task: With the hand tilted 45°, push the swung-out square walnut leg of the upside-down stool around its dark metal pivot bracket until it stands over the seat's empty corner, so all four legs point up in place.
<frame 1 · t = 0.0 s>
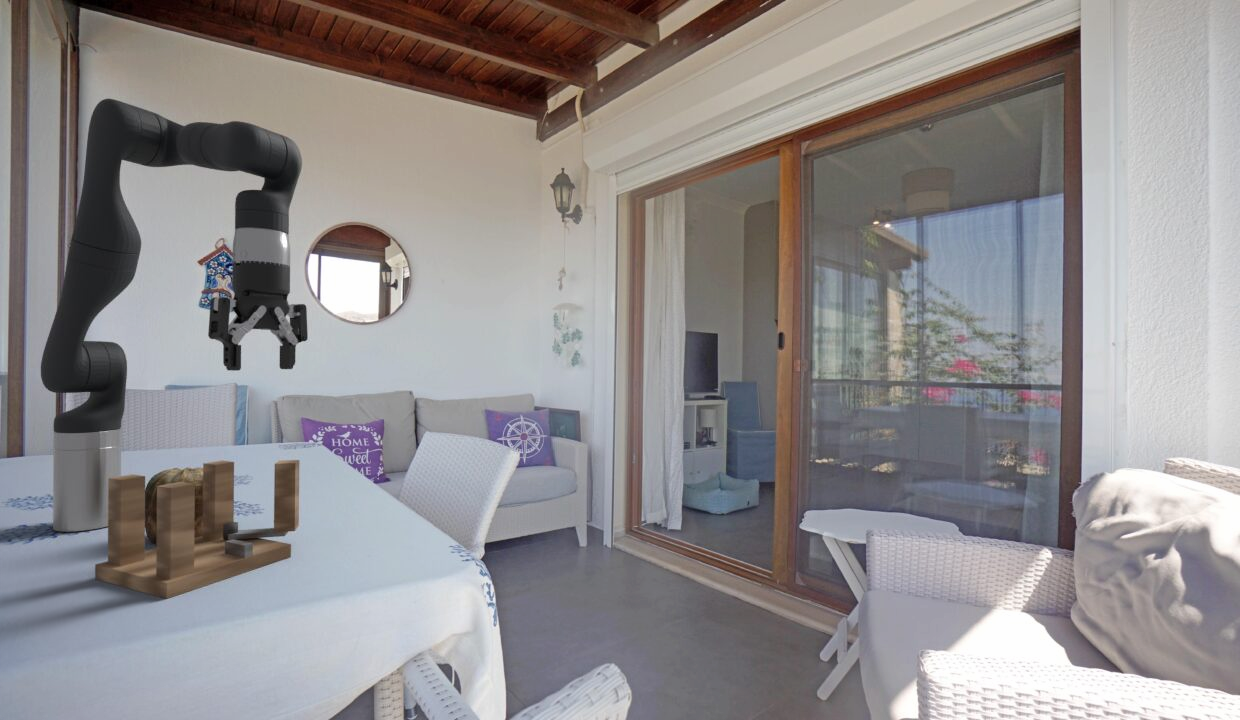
hand: (260, 369, 92), 29 cm above the table, tool pointing down, fingers open, 8 cm apart
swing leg: (260, 499, 98), point 8 cm above the table, hinge at 40.0°
stool: (198, 567, 90), on the table
shell: (182, 538, 104), on the table
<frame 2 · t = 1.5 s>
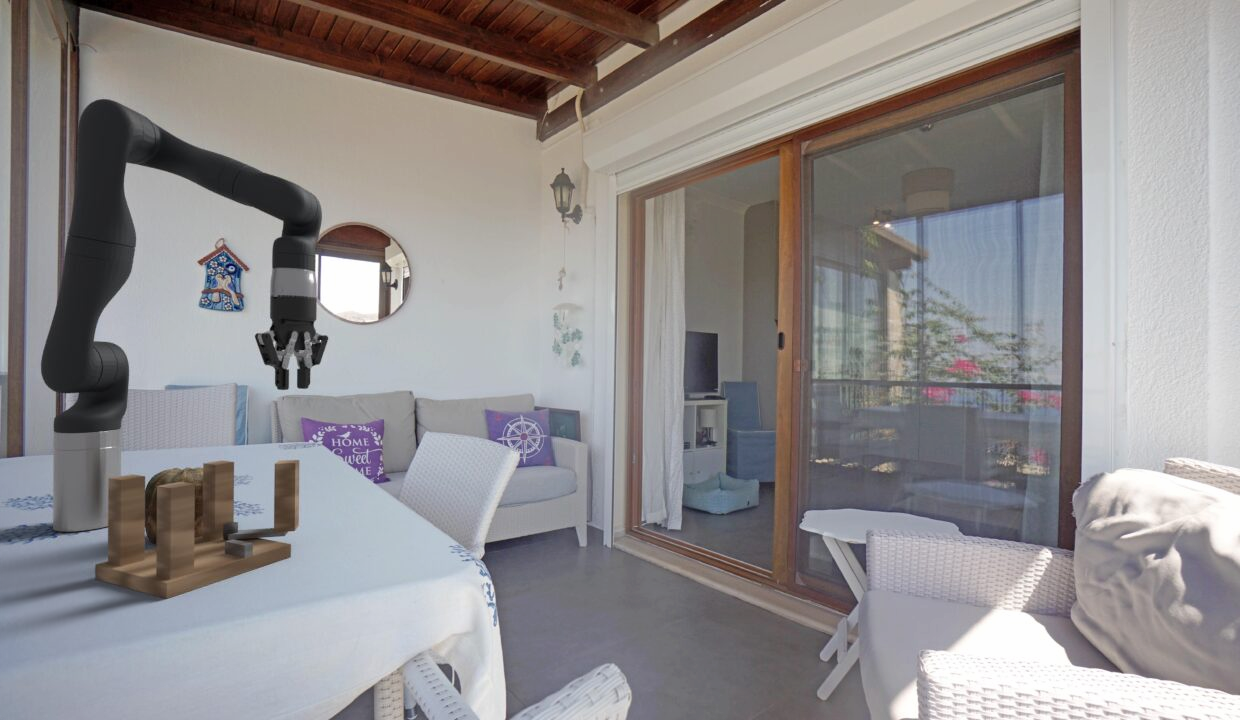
hand: (292, 388, 112), 25 cm above the table, tool pointing down, fingers open, 3 cm apart
nothing on the table moved.
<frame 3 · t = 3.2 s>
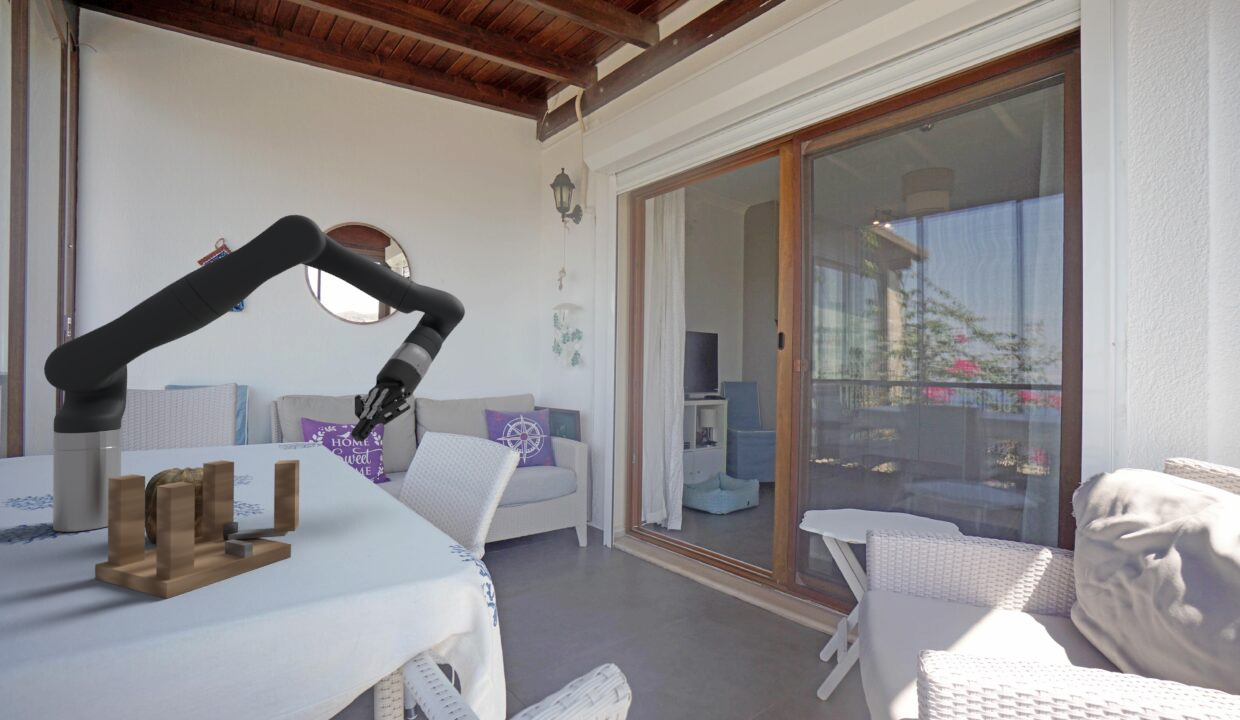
hand: (356, 438, 112), 16 cm above the table, tool tilted 45°, fingers closed
nothing on the table moved.
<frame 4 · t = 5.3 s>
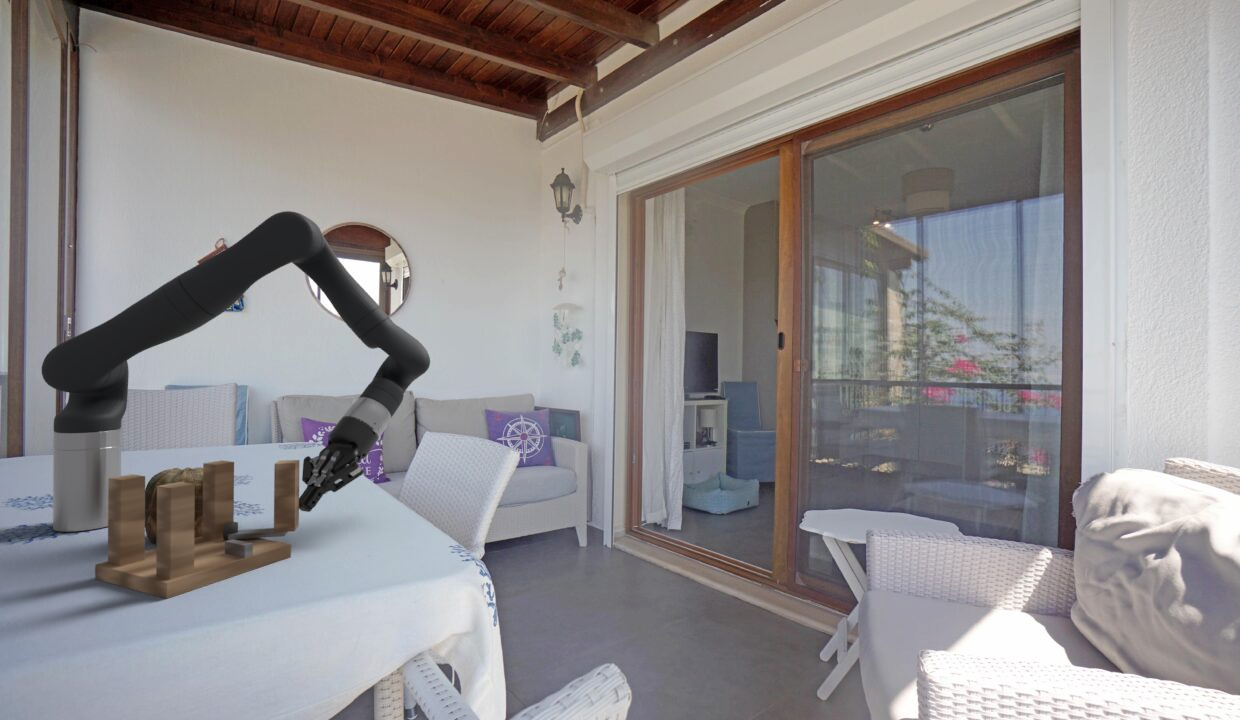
hand: (302, 508, 102), 6 cm above the table, tool tilted 45°, fingers closed
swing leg: (260, 499, 98), point 8 cm above the table, hinge at 39.7°, touching gripper
everything else where it was.
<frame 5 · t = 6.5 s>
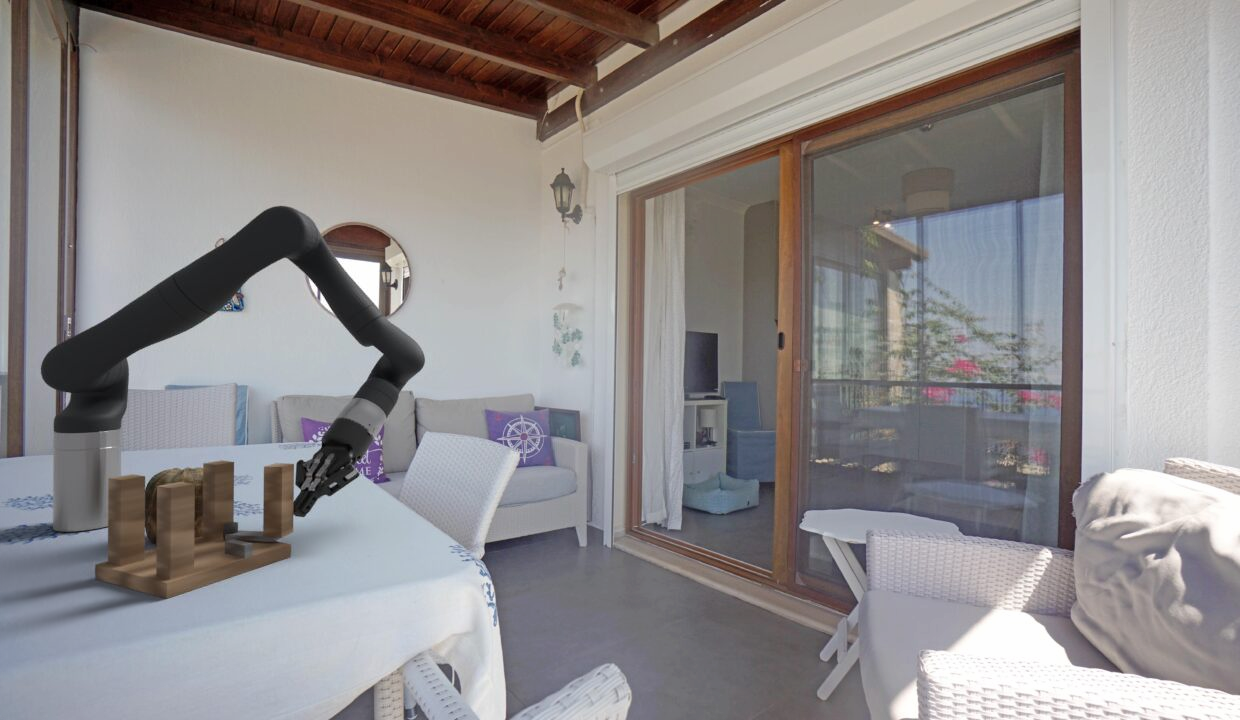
hand: (296, 514, 99), 6 cm above the table, tool tilted 45°, fingers closed
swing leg: (256, 501, 97), point 8 cm above the table, hinge at 18.8°, touching gripper
everything else where it was.
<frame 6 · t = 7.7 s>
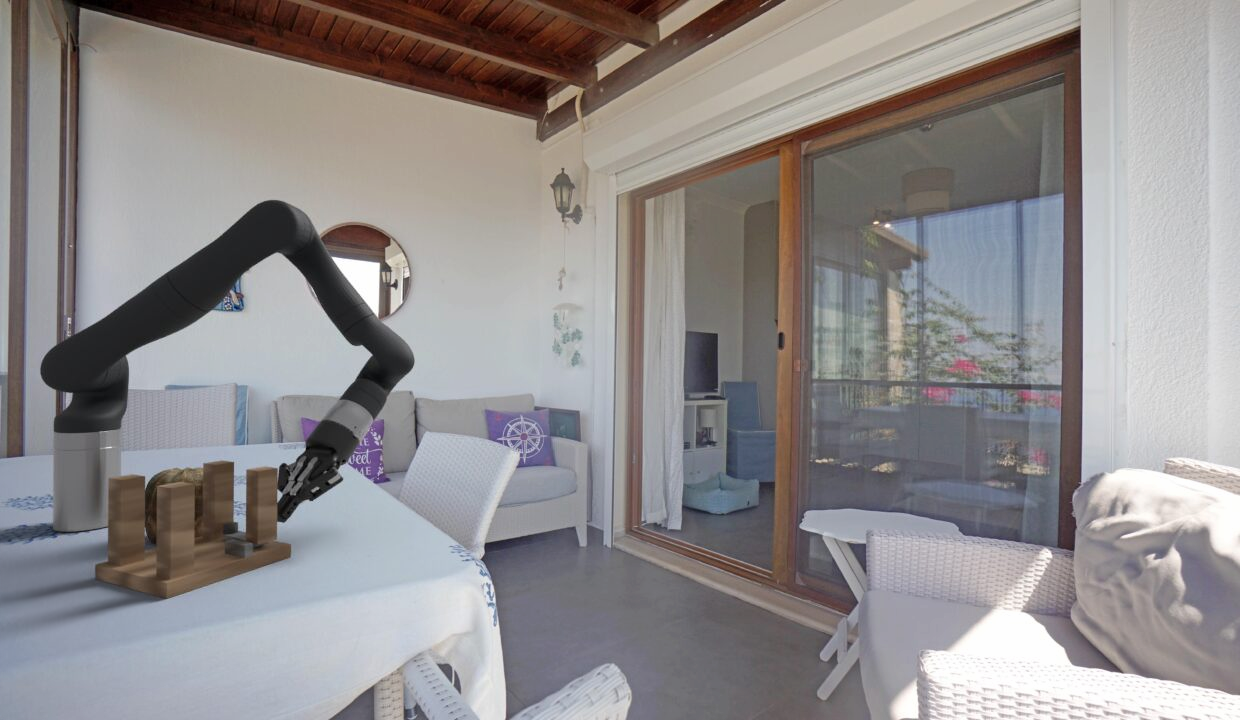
hand: (276, 519, 95), 6 cm above the table, tool tilted 45°, fingers closed
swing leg: (247, 504, 95), point 8 cm above the table, hinge at -4.3°, touching gripper
everything else where it was.
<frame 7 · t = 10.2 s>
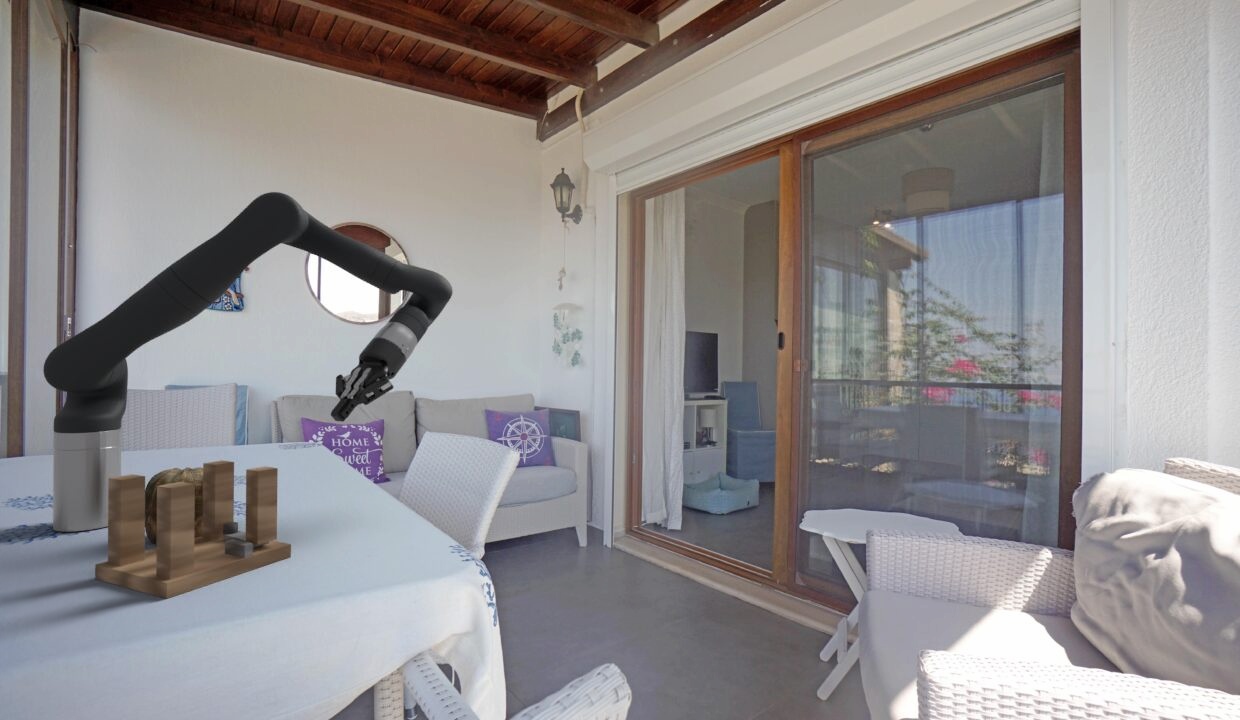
hand: (336, 418, 108), 20 cm above the table, tool tilted 45°, fingers closed
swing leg: (246, 504, 95), point 8 cm above the table, hinge at -4.5°
everything else where it was.
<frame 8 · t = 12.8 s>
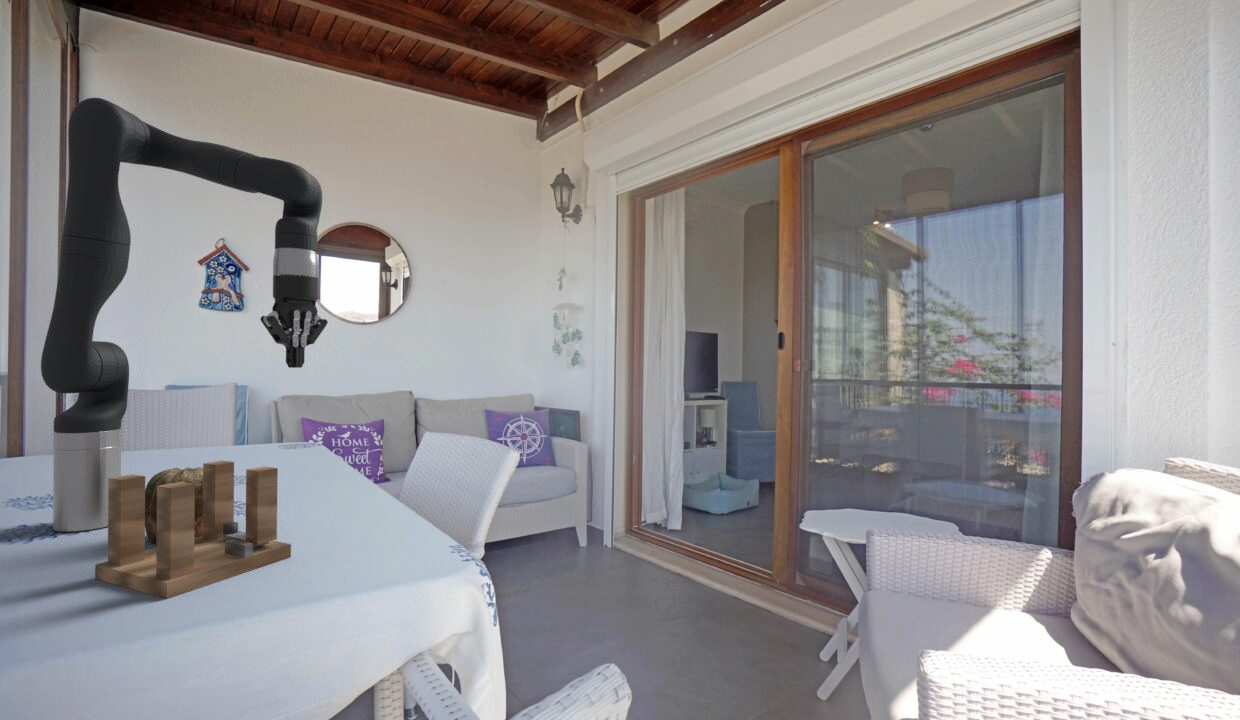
hand: (295, 367, 115), 29 cm above the table, tool pointing down, fingers closed
nothing on the table moved.
at the end: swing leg at -4° (first picture: +40°) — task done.
